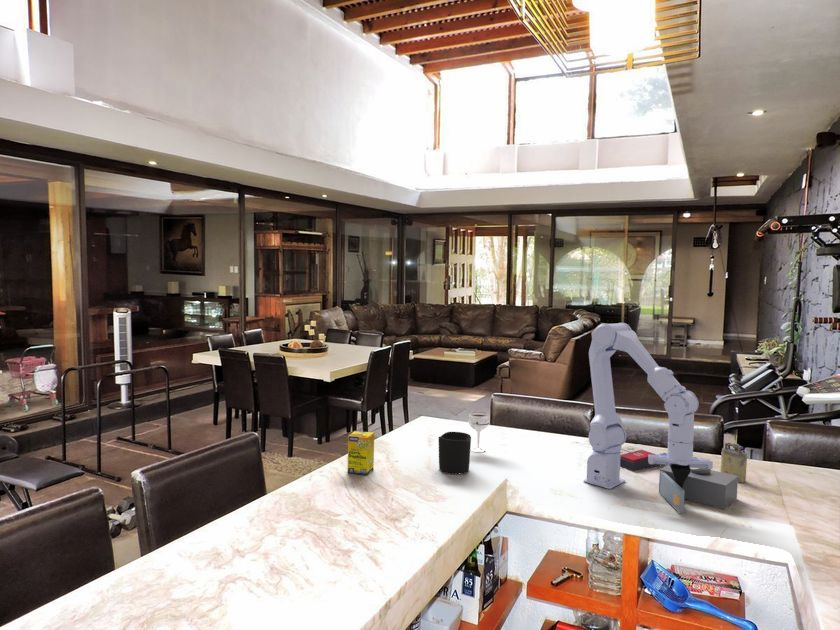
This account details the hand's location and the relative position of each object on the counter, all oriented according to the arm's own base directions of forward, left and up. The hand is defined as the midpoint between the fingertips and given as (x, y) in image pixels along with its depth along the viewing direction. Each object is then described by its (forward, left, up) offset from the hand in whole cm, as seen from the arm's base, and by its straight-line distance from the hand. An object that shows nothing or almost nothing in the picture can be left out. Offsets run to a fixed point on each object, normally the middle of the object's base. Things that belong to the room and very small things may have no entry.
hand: (678, 494), depth 141 cm
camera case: (+11, -1, -3) cm, 11 cm away
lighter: (+32, -4, -3) cm, 32 cm away
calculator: (+26, +22, -3) cm, 34 cm away
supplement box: (-42, +72, -3) cm, 84 cm away
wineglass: (-1, +62, -3) cm, 63 cm away
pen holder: (-21, +55, -3) cm, 60 cm away
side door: (-1, +2, -2) cm, 3 cm away
